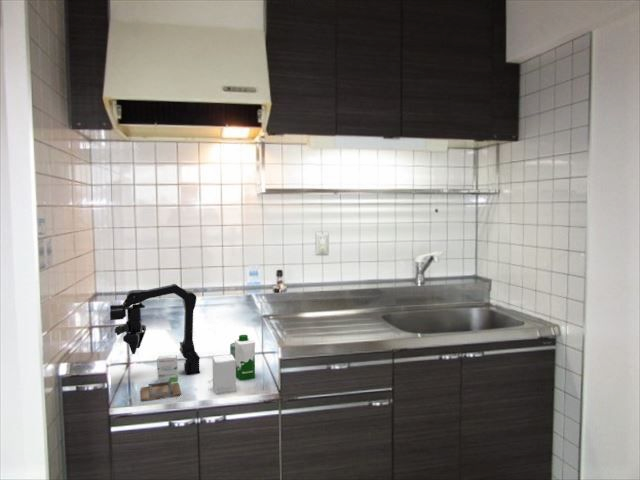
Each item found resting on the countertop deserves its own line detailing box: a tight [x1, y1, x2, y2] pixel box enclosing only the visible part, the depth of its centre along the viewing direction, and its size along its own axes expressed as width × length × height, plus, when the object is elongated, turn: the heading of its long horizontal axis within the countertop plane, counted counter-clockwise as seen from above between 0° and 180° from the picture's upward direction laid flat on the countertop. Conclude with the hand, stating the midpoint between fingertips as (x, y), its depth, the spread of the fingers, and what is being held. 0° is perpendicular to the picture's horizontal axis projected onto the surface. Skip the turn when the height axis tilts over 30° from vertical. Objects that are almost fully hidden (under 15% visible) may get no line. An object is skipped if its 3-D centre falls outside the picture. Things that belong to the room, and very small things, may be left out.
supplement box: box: [212, 354, 237, 396], centre depth 205 cm, size 9×9×15 cm
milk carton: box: [234, 334, 256, 381], centre depth 221 cm, size 9×9×20 cm
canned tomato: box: [229, 342, 235, 359], centre depth 240 cm, size 8×8×11 cm
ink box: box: [156, 354, 179, 383], centre depth 218 cm, size 9×5×12 cm, turn 99°
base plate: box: [140, 381, 182, 402], centre depth 204 cm, size 16×14×2 cm
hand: (135, 350), depth 218 cm, fingers open, 9 cm apart
